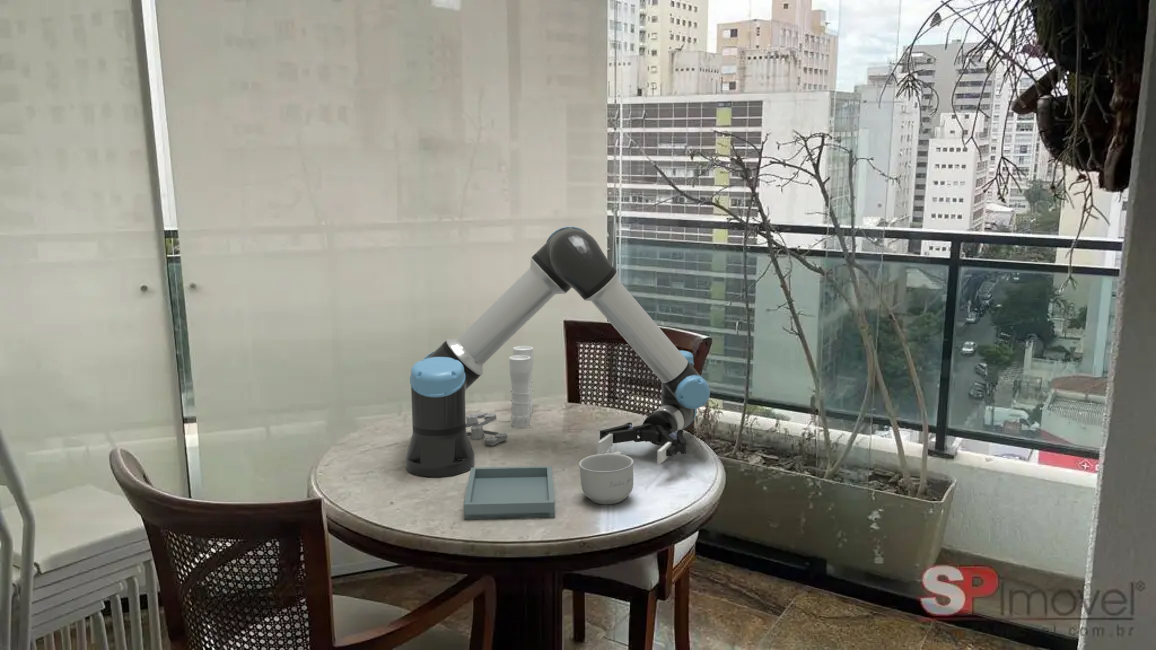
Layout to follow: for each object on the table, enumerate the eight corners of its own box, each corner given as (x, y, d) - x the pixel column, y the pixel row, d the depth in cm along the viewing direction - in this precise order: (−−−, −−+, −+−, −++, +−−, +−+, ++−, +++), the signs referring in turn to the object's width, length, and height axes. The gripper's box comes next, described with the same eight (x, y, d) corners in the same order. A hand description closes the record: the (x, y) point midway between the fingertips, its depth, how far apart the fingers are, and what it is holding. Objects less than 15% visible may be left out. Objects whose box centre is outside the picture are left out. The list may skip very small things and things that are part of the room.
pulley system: (447, 455, 196) (510, 446, 200) (445, 435, 196) (508, 427, 199) (439, 425, 223) (495, 418, 226) (437, 408, 222) (493, 401, 225)
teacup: (616, 513, 160) (616, 473, 159) (568, 502, 166) (568, 463, 164) (649, 490, 172) (650, 453, 170) (604, 480, 177) (604, 444, 176)
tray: (464, 519, 157) (463, 504, 157) (471, 481, 177) (471, 467, 176) (554, 517, 158) (554, 502, 158) (551, 479, 178) (551, 465, 177)
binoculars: (530, 428, 213) (529, 359, 210) (509, 428, 213) (508, 359, 210) (534, 409, 230) (533, 345, 227) (514, 409, 230) (513, 345, 227)
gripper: (714, 448, 191) (684, 478, 172) (613, 433, 201) (575, 461, 182) (715, 416, 189) (685, 443, 170) (613, 403, 200) (575, 428, 181)
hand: (628, 452), depth 176 cm, fingers open, 13 cm apart
